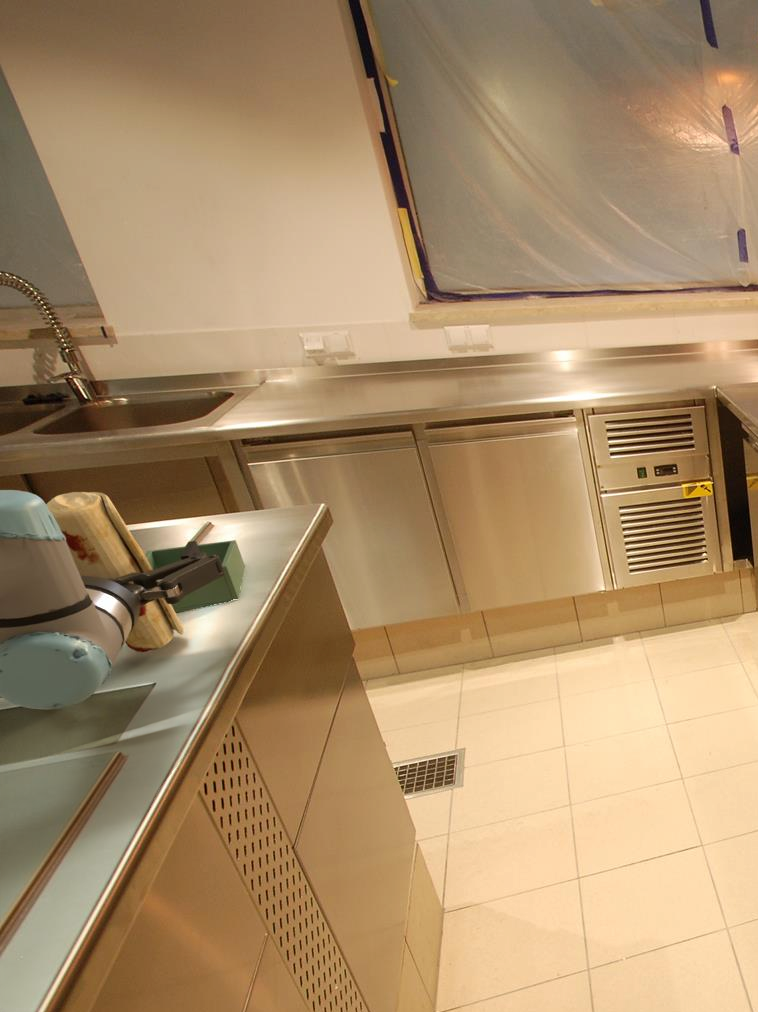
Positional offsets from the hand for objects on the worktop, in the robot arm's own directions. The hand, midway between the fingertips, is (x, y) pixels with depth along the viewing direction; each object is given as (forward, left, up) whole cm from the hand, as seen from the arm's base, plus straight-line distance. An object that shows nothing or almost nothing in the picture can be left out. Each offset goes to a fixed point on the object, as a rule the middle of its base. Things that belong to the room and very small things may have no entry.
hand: (125, 559), depth 104 cm
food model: (0, -1, -11) cm, 11 cm away
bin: (+2, +17, -11) cm, 20 cm away
